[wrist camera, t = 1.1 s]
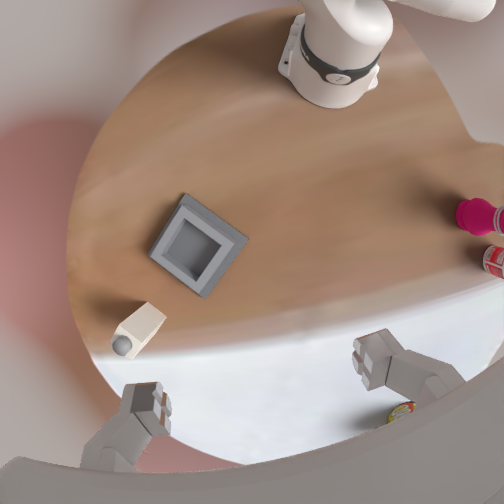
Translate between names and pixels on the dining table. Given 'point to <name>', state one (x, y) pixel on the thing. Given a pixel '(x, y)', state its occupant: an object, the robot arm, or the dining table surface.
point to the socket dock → (197, 246)
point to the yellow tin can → (401, 411)
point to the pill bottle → (494, 261)
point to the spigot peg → (136, 331)
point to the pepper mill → (480, 217)
